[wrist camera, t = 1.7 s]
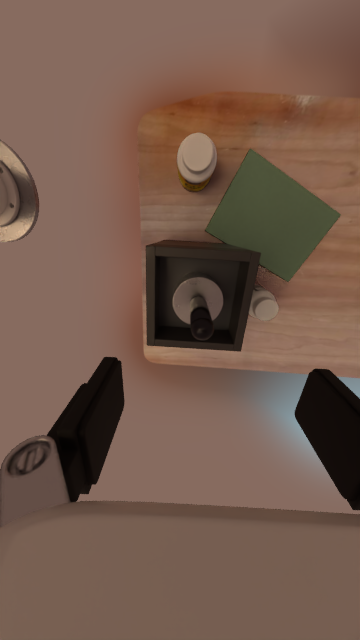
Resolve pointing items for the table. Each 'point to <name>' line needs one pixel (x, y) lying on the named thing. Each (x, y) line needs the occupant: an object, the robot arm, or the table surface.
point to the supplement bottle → (196, 161)
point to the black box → (223, 266)
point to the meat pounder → (198, 303)
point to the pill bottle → (263, 304)
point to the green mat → (271, 216)
